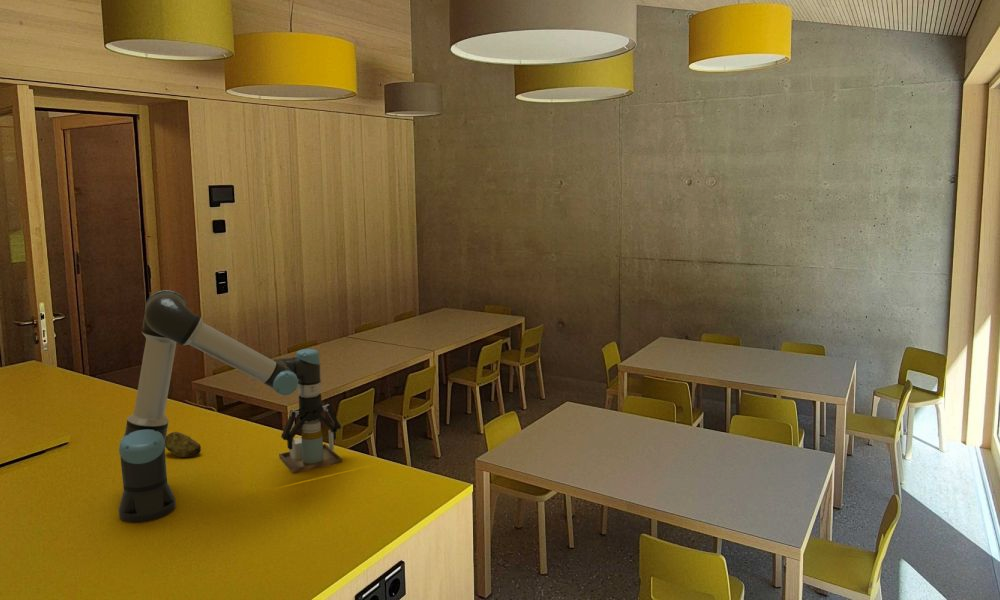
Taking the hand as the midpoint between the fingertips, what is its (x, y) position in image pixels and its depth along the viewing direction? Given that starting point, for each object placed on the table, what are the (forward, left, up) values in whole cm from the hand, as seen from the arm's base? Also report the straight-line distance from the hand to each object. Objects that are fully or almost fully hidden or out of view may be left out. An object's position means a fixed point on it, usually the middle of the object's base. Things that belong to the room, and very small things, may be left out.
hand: (312, 453), depth 239 cm
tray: (0, +3, -4) cm, 5 cm away
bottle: (0, 0, -4) cm, 4 cm away
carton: (0, +8, -4) cm, 9 cm away
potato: (-36, +34, -4) cm, 50 cm away
